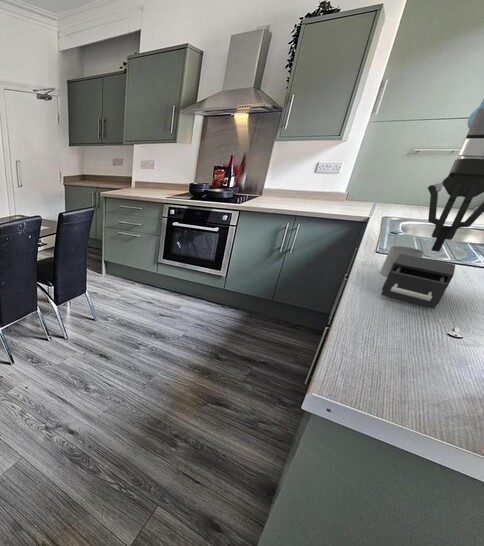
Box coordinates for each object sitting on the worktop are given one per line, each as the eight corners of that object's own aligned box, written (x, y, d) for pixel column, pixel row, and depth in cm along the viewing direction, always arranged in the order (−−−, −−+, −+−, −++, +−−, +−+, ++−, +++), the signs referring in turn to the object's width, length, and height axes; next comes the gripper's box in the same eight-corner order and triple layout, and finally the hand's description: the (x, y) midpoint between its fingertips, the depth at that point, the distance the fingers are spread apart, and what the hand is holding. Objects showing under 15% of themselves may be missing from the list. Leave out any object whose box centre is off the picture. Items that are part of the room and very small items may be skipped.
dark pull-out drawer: (432, 315, 85) (446, 290, 82) (377, 300, 93) (387, 276, 90) (437, 296, 96) (449, 273, 93) (387, 284, 104) (397, 262, 101)
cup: (408, 282, 108) (421, 255, 104) (377, 274, 114) (388, 248, 110) (413, 276, 112) (426, 250, 108) (383, 269, 118) (394, 244, 115)
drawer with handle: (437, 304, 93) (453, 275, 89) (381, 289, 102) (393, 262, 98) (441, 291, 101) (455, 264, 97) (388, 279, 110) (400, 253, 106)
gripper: (523, 158, 73) (472, 253, 82) (441, 156, 82) (404, 242, 91) (526, 159, 68) (472, 259, 78) (439, 157, 78) (400, 247, 87)
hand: (435, 250), depth 84 cm, fingers closed
